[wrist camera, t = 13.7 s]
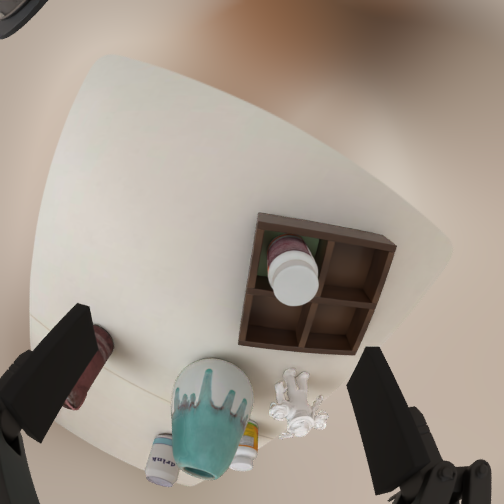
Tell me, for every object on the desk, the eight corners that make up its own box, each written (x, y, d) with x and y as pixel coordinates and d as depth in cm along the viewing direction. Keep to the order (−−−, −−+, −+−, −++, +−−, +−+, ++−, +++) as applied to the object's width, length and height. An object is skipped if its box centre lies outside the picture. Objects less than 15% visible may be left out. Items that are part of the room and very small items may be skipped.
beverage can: (186, 437, 47) (176, 482, 36) (184, 449, 49) (175, 490, 38) (155, 428, 47) (141, 472, 35) (156, 441, 49) (144, 481, 38)
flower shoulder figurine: (264, 374, 39) (264, 439, 28) (277, 358, 38) (281, 425, 26) (312, 390, 40) (321, 449, 29) (326, 375, 39) (340, 436, 27)
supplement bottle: (252, 434, 45) (250, 474, 36) (226, 428, 45) (221, 469, 36) (262, 421, 44) (261, 464, 34) (234, 415, 43) (230, 459, 34)
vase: (188, 395, 41) (165, 483, 25) (174, 346, 37) (135, 446, 21) (255, 398, 41) (252, 492, 24) (253, 348, 37) (247, 460, 20)
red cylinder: (109, 358, 40) (74, 417, 26) (80, 335, 38) (39, 389, 25) (121, 341, 38) (83, 405, 25) (90, 316, 37) (43, 373, 23)
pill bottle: (257, 250, 31) (256, 284, 23) (290, 223, 30) (300, 249, 22) (284, 279, 32) (291, 319, 24) (316, 254, 31) (333, 288, 23)
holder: (258, 212, 30) (257, 221, 27) (383, 234, 31) (397, 245, 27) (240, 326, 36) (237, 345, 32) (347, 337, 36) (355, 355, 32)
